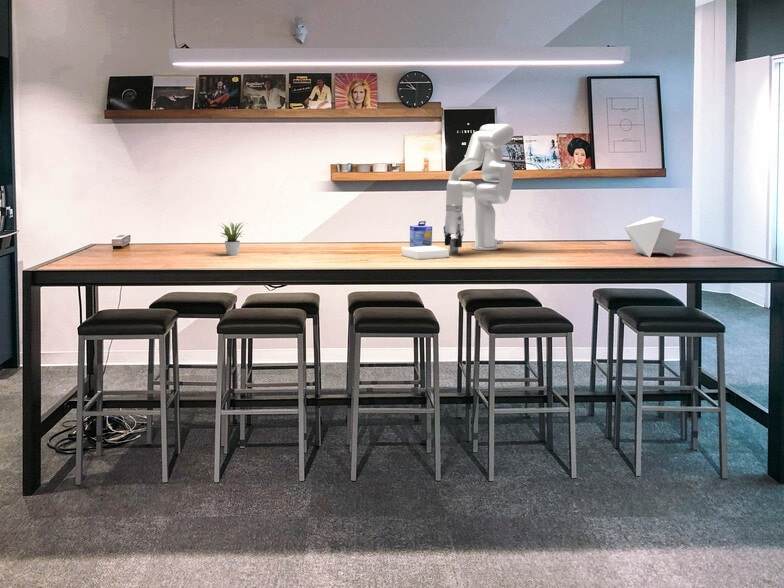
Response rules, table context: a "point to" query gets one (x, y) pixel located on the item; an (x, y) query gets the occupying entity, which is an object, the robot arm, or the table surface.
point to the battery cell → (453, 247)
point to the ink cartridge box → (420, 235)
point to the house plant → (232, 239)
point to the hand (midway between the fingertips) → (453, 246)
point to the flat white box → (425, 252)
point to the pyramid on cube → (652, 236)
